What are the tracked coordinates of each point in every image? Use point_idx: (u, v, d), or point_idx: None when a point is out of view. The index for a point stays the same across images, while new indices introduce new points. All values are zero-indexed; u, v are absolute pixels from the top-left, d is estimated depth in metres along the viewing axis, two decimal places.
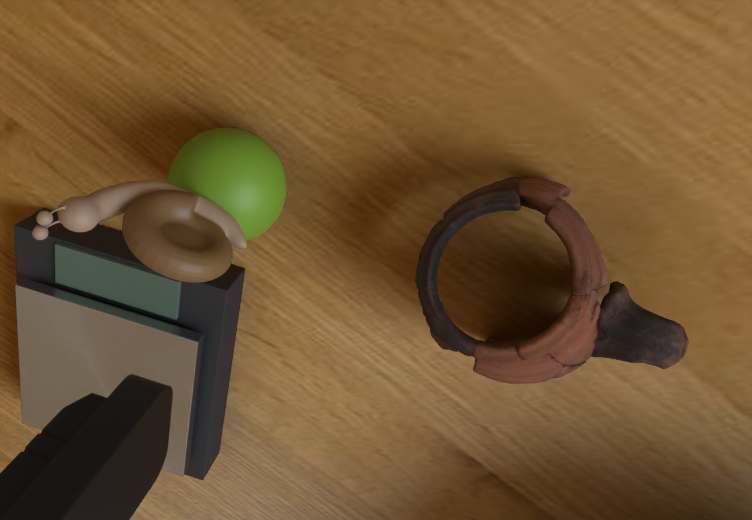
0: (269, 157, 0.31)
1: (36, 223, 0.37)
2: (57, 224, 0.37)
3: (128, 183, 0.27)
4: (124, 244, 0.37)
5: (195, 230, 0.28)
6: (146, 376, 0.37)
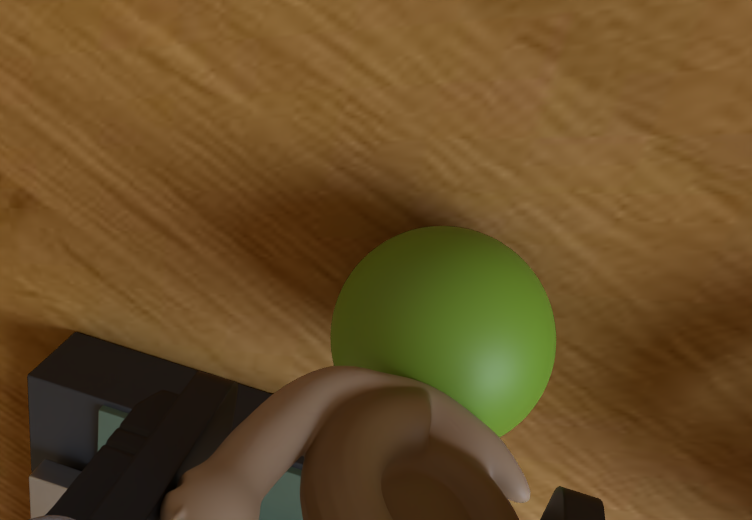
0: (540, 291, 0.16)
1: (65, 367, 0.21)
2: (100, 366, 0.22)
3: (299, 391, 0.12)
4: None
5: (439, 483, 0.13)
6: None
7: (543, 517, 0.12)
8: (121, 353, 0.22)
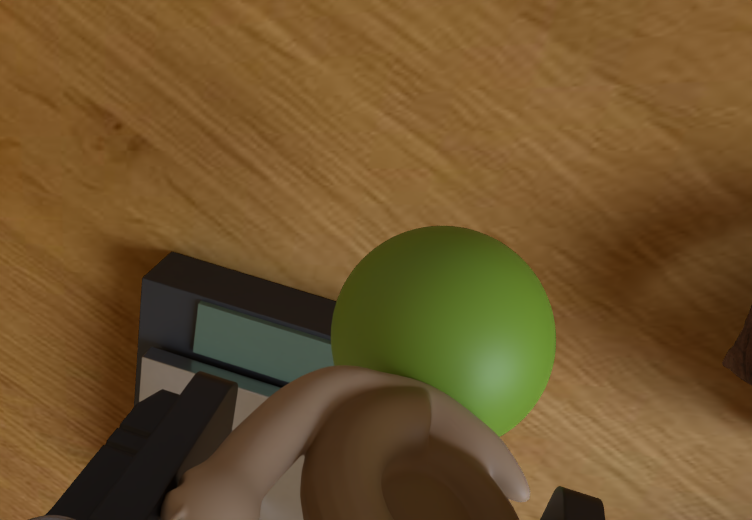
0: (540, 291, 0.16)
1: (169, 274, 0.28)
2: (195, 275, 0.28)
3: (300, 391, 0.12)
4: (285, 302, 0.28)
5: (439, 482, 0.13)
6: None
7: (543, 517, 0.12)
8: (209, 267, 0.29)
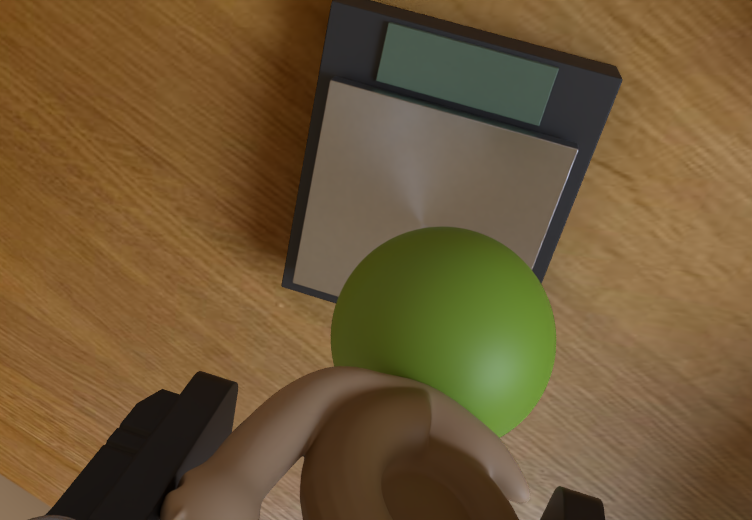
0: (540, 291, 0.16)
1: (354, 3, 0.28)
2: (377, 7, 0.29)
3: (300, 392, 0.12)
4: (467, 31, 0.28)
5: (439, 483, 0.13)
6: (488, 205, 0.29)
7: (543, 517, 0.12)
8: (386, 5, 0.29)
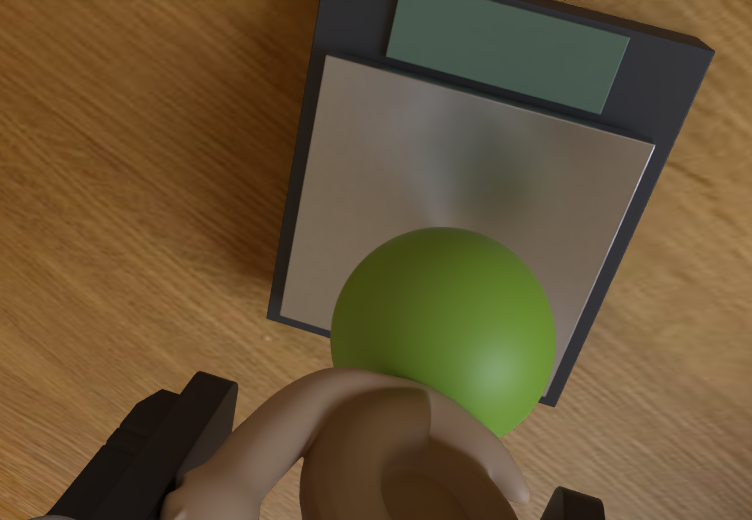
0: (539, 292, 0.16)
1: None
2: None
3: (299, 392, 0.12)
4: None
5: (439, 484, 0.13)
6: (532, 218, 0.22)
7: (543, 517, 0.12)
8: None
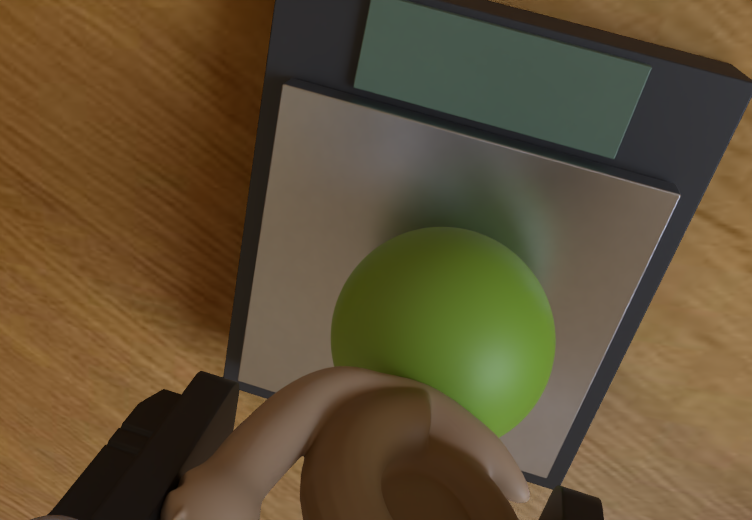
0: (539, 292, 0.16)
1: None
2: None
3: (300, 391, 0.12)
4: (497, 8, 0.18)
5: (439, 483, 0.13)
6: None
7: (542, 516, 0.12)
8: None
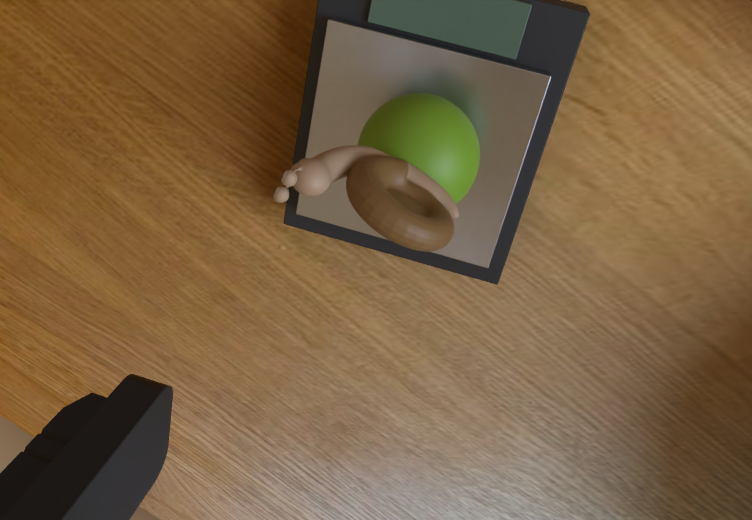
0: (469, 123, 0.29)
1: None
2: None
3: (345, 147, 0.26)
4: None
5: (412, 197, 0.26)
6: None
7: None
8: None
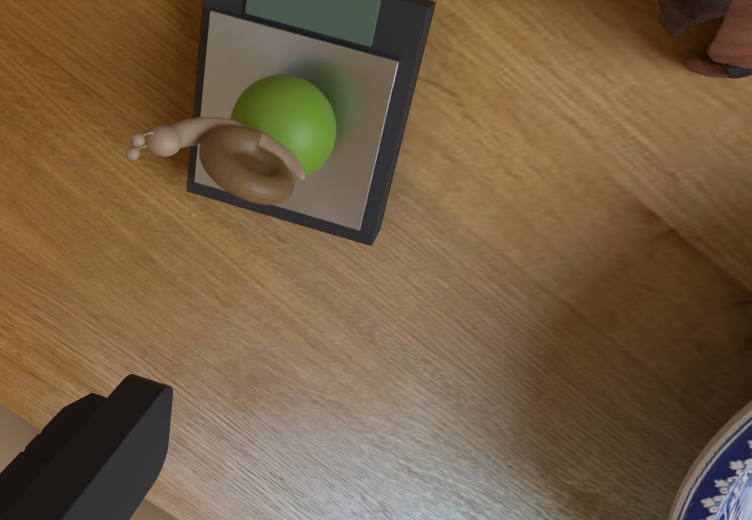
0: (323, 101, 0.34)
1: None
2: None
3: (202, 117, 0.31)
4: None
5: (260, 161, 0.31)
6: (337, 109, 0.37)
7: None
8: None
